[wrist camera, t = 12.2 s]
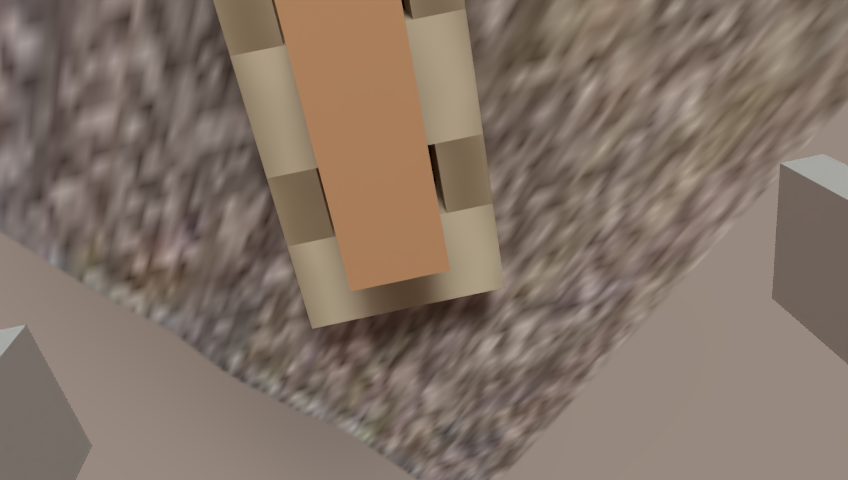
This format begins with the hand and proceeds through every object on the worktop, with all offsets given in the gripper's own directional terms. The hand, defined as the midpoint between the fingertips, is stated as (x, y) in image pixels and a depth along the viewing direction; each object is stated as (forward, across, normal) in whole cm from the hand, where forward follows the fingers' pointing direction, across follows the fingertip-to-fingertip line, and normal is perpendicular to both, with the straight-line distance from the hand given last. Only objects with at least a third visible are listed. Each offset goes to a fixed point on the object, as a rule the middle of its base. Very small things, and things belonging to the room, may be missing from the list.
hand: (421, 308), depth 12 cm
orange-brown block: (+23, +1, 0) cm, 23 cm away
